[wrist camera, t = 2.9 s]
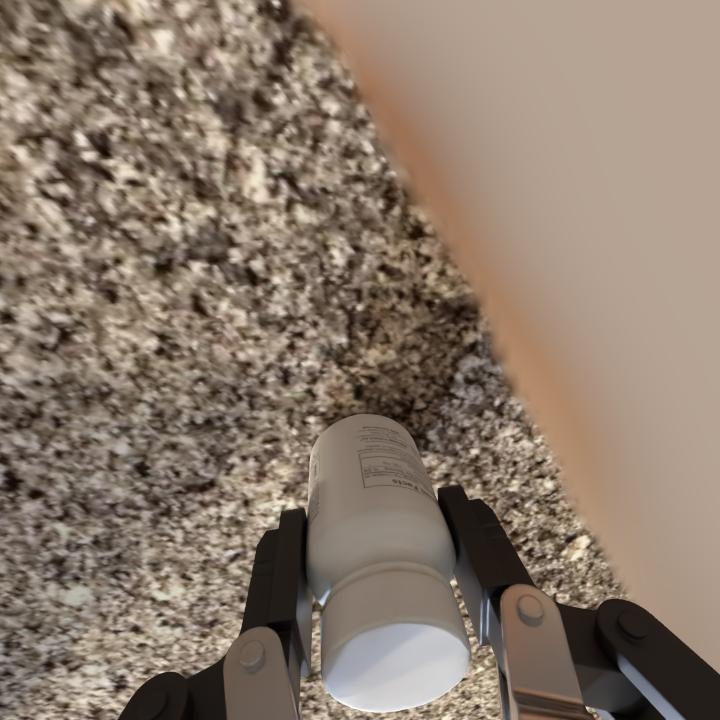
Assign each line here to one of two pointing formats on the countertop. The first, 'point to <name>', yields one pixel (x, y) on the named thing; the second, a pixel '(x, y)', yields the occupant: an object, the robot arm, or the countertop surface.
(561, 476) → the countertop surface
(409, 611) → the pill bottle
